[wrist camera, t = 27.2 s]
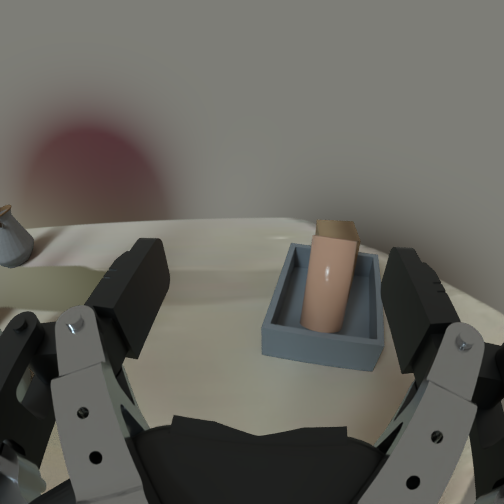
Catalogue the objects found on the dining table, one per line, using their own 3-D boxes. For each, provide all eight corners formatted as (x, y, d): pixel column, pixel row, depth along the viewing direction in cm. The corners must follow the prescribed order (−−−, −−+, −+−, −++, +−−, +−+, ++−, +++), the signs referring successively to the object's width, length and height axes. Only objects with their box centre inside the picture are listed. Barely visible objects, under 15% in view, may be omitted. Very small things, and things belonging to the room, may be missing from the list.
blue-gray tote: (261, 354, 34) (261, 327, 32) (289, 269, 48) (291, 243, 45) (372, 371, 31) (384, 345, 28) (371, 280, 45) (377, 254, 42)
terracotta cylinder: (295, 327, 31) (308, 235, 30) (304, 314, 36) (316, 234, 35) (339, 336, 30) (356, 242, 28) (343, 322, 34) (357, 241, 33)
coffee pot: (0, 259, 54) (-21, 207, 45) (34, 240, 60) (16, 187, 52) (4, 302, 41) (-29, 236, 33) (48, 276, 48) (21, 209, 40)
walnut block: (312, 301, 40) (319, 239, 34) (311, 279, 44) (316, 219, 38) (347, 302, 39) (360, 241, 34) (343, 280, 43) (353, 221, 38)
